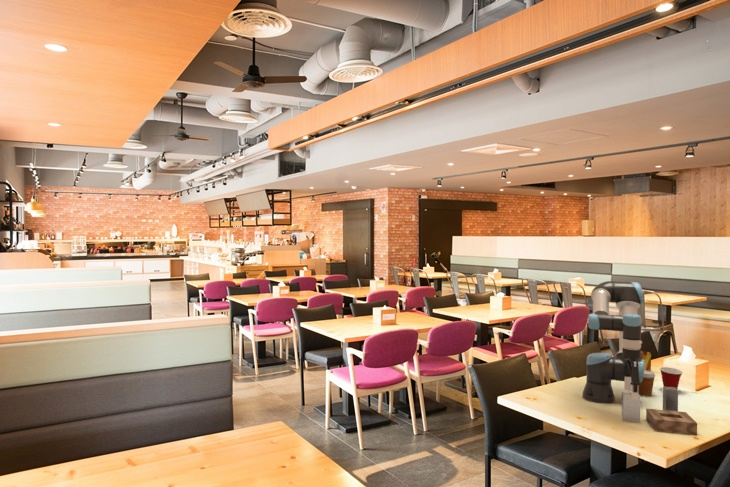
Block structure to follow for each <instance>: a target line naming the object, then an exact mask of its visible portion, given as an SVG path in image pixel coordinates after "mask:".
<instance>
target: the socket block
mask: <svg viewBox="0 0 730 487" xmlns="http://www.w3.org/2000/svg"><path fill="white" fill-rule="evenodd" d="M645 420H646V421H647V423H648V424H649V425H650V427H651V428H652V429H653V431H655V432H665V433H674V434H681V435H682V434H683V435H693V436H697V435H698V423H697V422H696V420H695V419H694V418H693V417H692V416H690V415H689V413H688V412H686V411H679V410H678V411H668V410H663V409H657V408H655V409H654V408H646V410H645Z"/></svg>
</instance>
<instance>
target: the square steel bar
mask: <svg viewBox="0 0 730 487" xmlns="http://www.w3.org/2000/svg"><path fill="white" fill-rule="evenodd" d="M662 410H668V411H679V390H678V388H677V389H676V388H675V387H664V386H662Z"/></svg>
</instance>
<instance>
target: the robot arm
mask: <svg viewBox="0 0 730 487" xmlns="http://www.w3.org/2000/svg"><path fill="white" fill-rule="evenodd" d="M643 293H644V292H643V289H642V285H641V284H640V282H636V281H635V282H633V281H614V280H613V281H612V280H608V281H603V282H600V283H599V284H597V285H596V286H595V287H593V289H592V291H591V294H590V297H591V298H590V299H591V301H592V313H589V314H588V316H587V320H588V323H587V324H588V326H587V327H588V328H589V329H590V330H595V331H596V330H597V331H610V332H611V331H612V332H618V333H619V334H618V342H619V344H618V346H619V347H618V348H619V350H618V351H617V352H616V353H615V356H612V354H611V353H609V352H592V353H589V354H588V355H587V356H586V362H585V364H586V377H585V378H586V382H585V385H584V387H583V391H582V398H584V400H587V401H590V402H594V403H597V404H599V403H601V404H610V403H611V404H612V403H614V402H615V400H616V396H615V395H616V394H615V393H614V390H613V387H612V381H616V382H617V381H619V382H624V383H623V384H624V388H623V389H624V390H623V391H625V392H627V391H628V392H630V393H631V399H635V400H638V385H640V382H642V380H643V375H644V368H645V360H643V359H642V356H641V351H642V350H641V348H642V344H643V341H642V324H643V323H642V317H641V315H640V314H638V309H640V307H641V305H643V304H644V294H643ZM610 303H614V304H615V307H616V308H618V314H617V315H616V314H610Z"/></svg>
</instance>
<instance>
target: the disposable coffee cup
mask: <svg viewBox="0 0 730 487" xmlns="http://www.w3.org/2000/svg"><path fill="white" fill-rule="evenodd" d="M655 377H656V374H655V372H654V371H652V370H651V371H647V370H644V375H643V380H642V382H640V385H638V394H639V395H640V396H643V397H652V396H653V394H652V393H653V388H654V383H655Z"/></svg>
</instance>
